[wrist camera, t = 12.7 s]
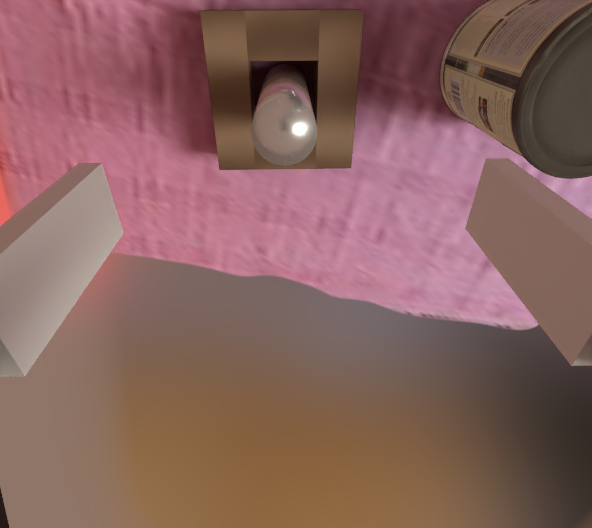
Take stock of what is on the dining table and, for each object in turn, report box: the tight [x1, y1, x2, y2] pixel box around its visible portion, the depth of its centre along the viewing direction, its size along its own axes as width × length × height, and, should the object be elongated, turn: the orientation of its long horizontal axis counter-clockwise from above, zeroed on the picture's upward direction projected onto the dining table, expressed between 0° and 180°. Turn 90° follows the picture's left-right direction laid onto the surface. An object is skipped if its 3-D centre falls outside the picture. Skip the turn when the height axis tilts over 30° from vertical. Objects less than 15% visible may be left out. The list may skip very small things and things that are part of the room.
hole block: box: [200, 9, 364, 170], centre depth 33 cm, size 12×12×4 cm
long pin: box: [251, 64, 317, 166], centre depth 28 cm, size 4×4×14 cm
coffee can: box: [440, 0, 592, 179], centre depth 28 cm, size 10×10×14 cm
